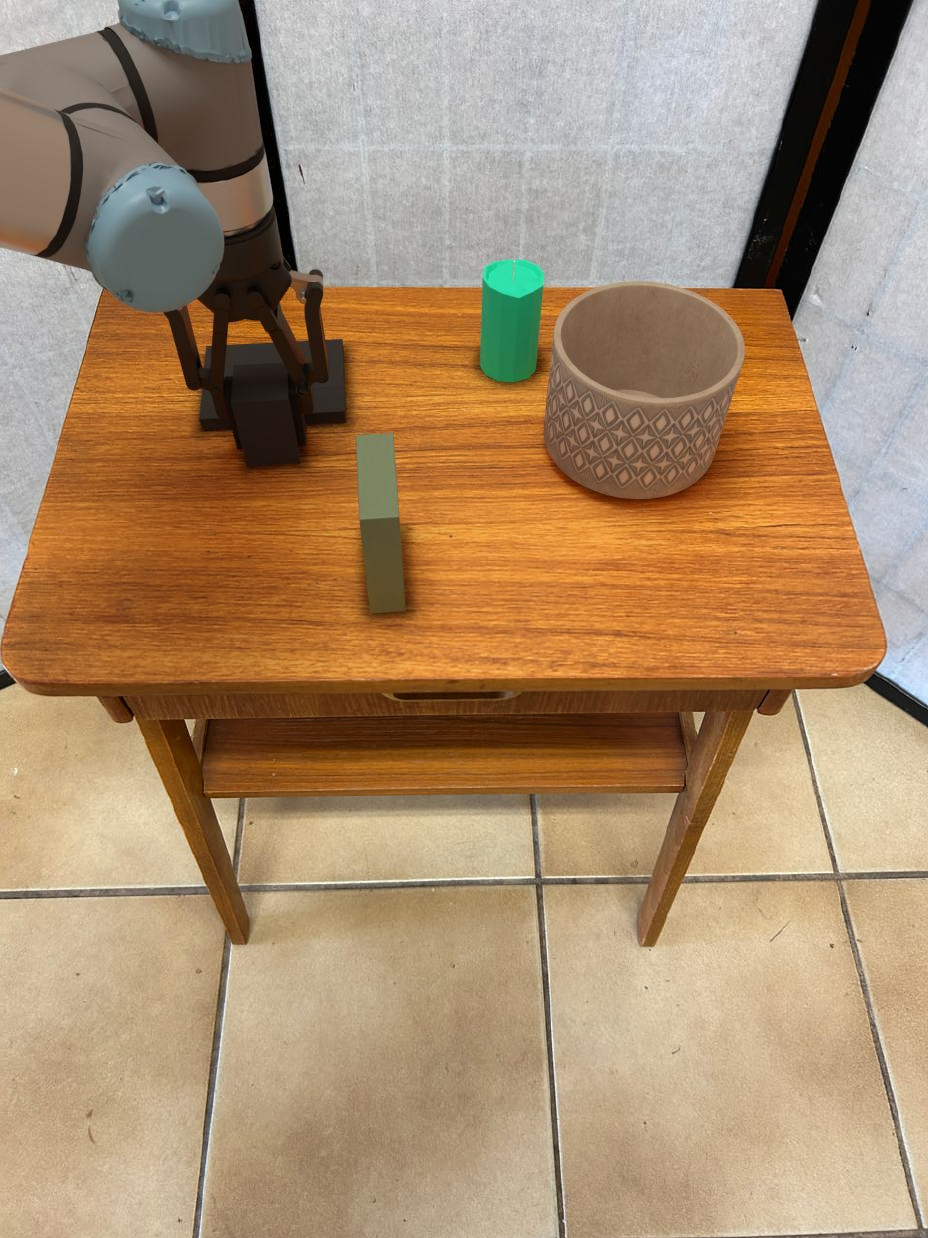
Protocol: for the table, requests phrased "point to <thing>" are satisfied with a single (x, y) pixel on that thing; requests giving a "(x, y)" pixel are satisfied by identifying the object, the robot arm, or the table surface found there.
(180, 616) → the table surface
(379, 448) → the stand
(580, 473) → the planter
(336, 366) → the pad
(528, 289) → the candle
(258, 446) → the black rectangular block
